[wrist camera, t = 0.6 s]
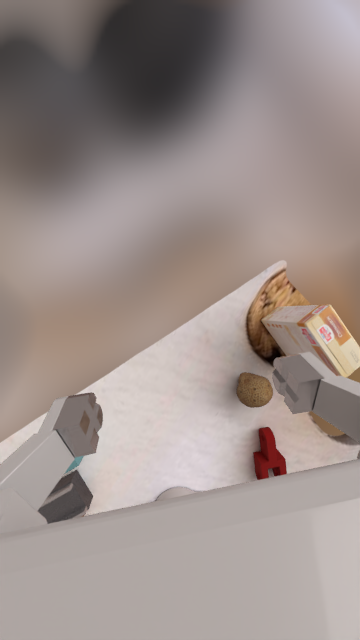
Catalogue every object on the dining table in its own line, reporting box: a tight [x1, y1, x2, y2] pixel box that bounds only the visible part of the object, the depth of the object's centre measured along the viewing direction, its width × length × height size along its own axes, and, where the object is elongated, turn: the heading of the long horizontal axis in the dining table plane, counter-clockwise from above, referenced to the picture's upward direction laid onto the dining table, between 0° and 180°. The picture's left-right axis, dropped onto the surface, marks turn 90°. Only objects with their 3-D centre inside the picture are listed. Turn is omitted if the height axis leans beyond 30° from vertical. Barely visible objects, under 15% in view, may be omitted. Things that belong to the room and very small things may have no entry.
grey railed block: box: [38, 470, 93, 524], centre depth 57 cm, size 12×12×6 cm
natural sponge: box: [237, 372, 273, 407], centre depth 58 cm, size 9×9×10 cm
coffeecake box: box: [261, 305, 360, 378], centre depth 54 cm, size 15×7×20 cm, turn 37°
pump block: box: [64, 456, 83, 474], centre depth 56 cm, size 5×6×7 cm
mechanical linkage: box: [253, 427, 287, 480], centre depth 62 cm, size 16×7×5 cm, turn 7°
